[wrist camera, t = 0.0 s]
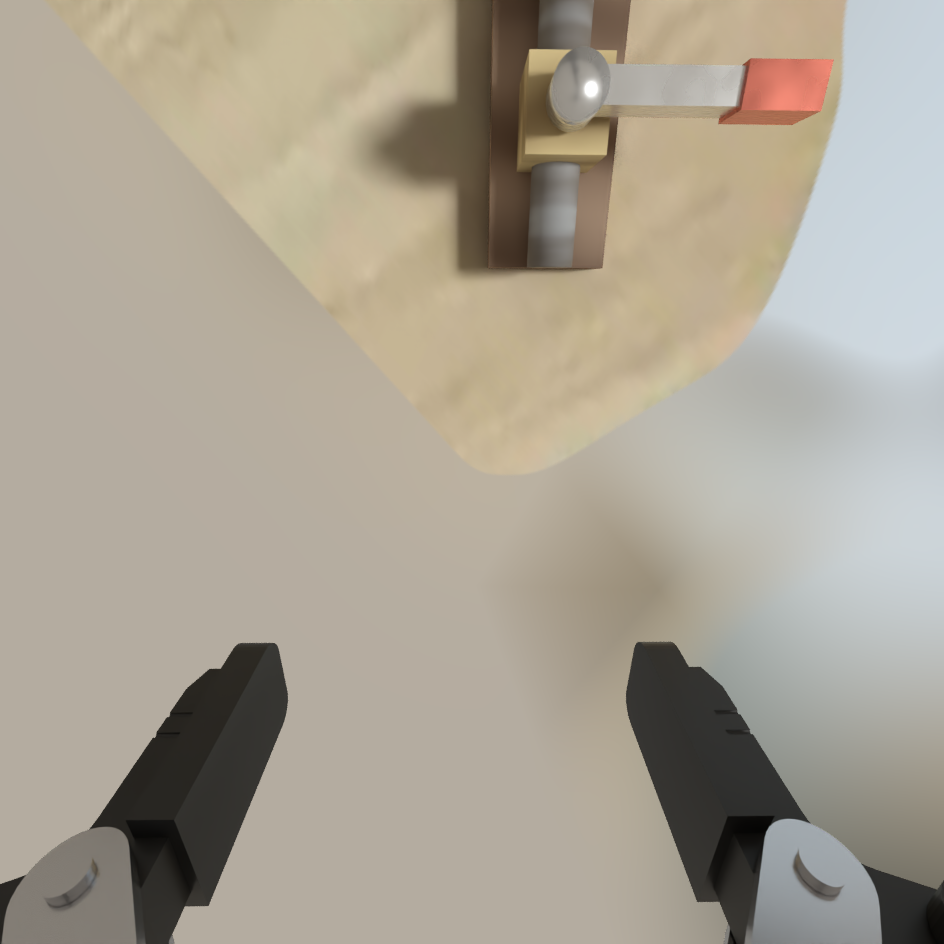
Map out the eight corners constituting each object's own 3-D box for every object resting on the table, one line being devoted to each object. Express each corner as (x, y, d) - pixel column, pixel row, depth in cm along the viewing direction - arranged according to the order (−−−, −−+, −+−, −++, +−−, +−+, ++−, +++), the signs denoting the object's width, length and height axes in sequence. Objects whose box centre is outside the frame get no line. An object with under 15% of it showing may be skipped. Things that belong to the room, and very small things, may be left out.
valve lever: (543, 131, 25) (551, 117, 23) (547, 66, 24) (555, 45, 21) (788, 134, 25) (818, 120, 23) (803, 69, 24) (836, 48, 22)
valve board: (492, -21, 28) (500, -113, 21) (623, -19, 28) (671, -110, 21) (487, 268, 34) (492, 265, 27) (594, 268, 34) (625, 266, 28)
